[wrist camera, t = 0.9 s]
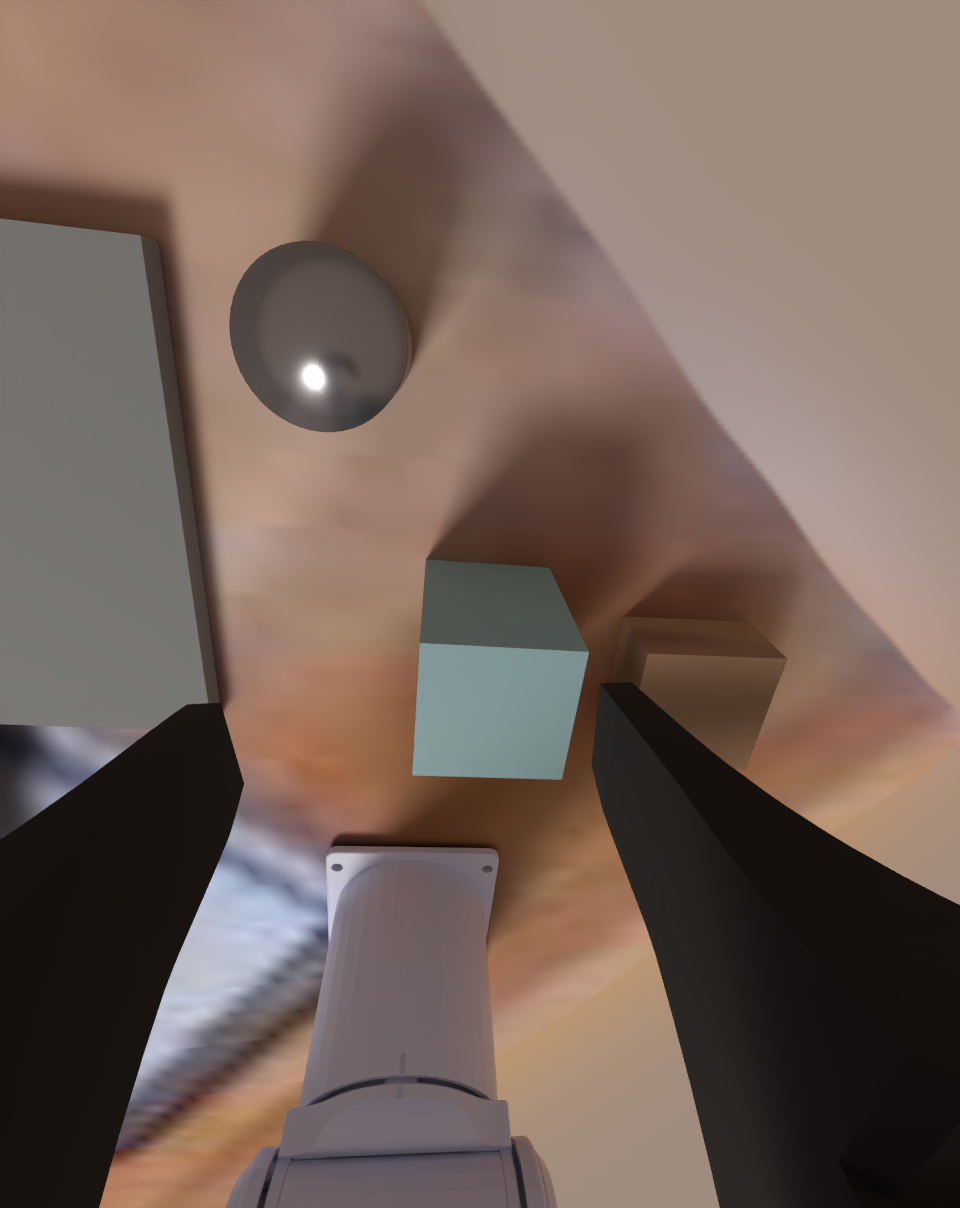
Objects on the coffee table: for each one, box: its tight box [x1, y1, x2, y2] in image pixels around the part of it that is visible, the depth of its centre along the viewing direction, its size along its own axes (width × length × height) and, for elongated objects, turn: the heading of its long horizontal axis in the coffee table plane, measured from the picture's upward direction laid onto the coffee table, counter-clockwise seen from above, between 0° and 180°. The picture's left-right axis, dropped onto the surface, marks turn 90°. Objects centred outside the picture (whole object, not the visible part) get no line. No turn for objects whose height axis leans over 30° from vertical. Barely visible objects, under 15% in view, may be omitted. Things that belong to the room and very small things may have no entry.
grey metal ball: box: [230, 241, 413, 432], centre depth 14 cm, size 4×4×4 cm
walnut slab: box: [610, 616, 787, 769], centre depth 21 cm, size 5×5×3 cm
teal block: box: [412, 559, 589, 780], centre depth 18 cm, size 4×4×6 cm
